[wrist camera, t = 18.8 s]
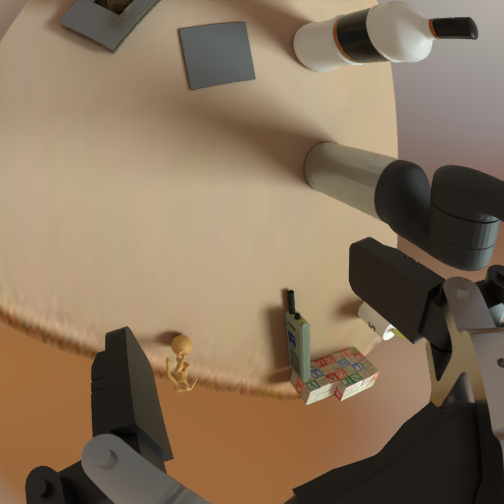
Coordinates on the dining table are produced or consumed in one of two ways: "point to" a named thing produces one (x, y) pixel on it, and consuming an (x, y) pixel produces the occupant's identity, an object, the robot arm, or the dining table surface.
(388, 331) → the candle
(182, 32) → the rubber mat
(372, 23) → the vodka
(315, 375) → the stack of blocks
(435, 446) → the robot arm
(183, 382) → the figurine
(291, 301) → the handheld radio
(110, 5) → the brass pin
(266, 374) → the dining table surface
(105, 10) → the slotted grey base plate
